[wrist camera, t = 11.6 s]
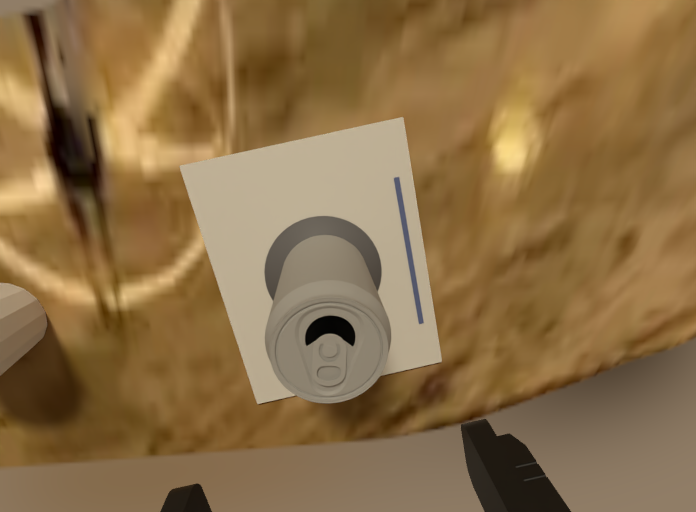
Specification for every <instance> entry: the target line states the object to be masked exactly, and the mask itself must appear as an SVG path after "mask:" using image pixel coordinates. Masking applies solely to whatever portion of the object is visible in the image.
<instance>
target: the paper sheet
mask: <svg viewBox="0 0 696 512" xmlns="http://www.w3.org/2000/svg"><path fill="white" fill-rule="evenodd" d="M179 167H180V170H181V173H182V176H183V179H184V182H185V185H186V188H187V191H188V194H189V197H190V200H191V203H192V206H193V209H194V212H195V216H196V219H197V222H198V225H199V228H200V231H201V234H202V237H203V240H204V243H205V246H206V249H207V252H208V255H209V258H210V261H211V264H212V267H213V270H214V273H215V276H216V279H217V283H218V286H219V289H220V292H221V295H222V298H223V301H224V304H225V307H226V310H227V313H228V316H229V319H230V322H231V325H232V328H233V331H234V334H235V337H236V340H237V343H238V346H239V349H240V353H241V356H242V359H243V362H244V365H245V368H246V371H247V374H248V377H249V380H250V383H251V386H252V389H253V392H254V395H255V398H256V401H257V404H261V403H265V402H269V401H274V400H278V399H282V398H287V397H291V396H295V394H293V393H292V392H290V391H289V390H288V389H286V388H285V387H284V386H283V385H282V383H281V382H280V381H279V380H278V378H277V377H276V375H275V373H274V371H273V368H272V365H271V362H270V360H269V358H268V355H267V351H266V347H265V330H266V325H267V322H268V318H269V315H270V311H271V308H272V304H273V300H274V297H275V293H276V290H277V286H278V283H279V279H280V275H281V272H282V268H283V265H284V262H285V260H286V258H287V256H288V254H289V253H290V251H291V250H292V249H293V248H294V247H295V246H296V245H297V244H299V243H300V242H302V241H303V240H305V239H308V238H310V237H313V236H318V235H332V236H337V237H340V238H342V239H344V240H346V241H348V242H349V243H351V244H352V245H354V246H355V247H356V248H357V249H358V250H359V252H360V253H361V255H362V256H363V258H364V261H365V263H366V265H367V268H368V270H369V273H370V275H371V277H372V280H373V282H374V285H375V287H376V290H377V292H378V294H379V297H380V299H381V302H382V304H383V306H384V309H385V311H386V314H387V316H388V319H389V322H390V326H391V345H390V349H389V352H388V358H387V362H386V365H385V368H384V370H383V372H382V374H381V375H380V376H382V375H387V374H391V373H395V372H400V371H404V370H408V369H413V368H417V367H421V366H426V365H430V364H434V363H439V362H442V358H441V352H440V346H439V339H438V333H437V327H436V320H435V314H434V308H433V302H432V295H431V289H430V283H429V276H428V270H427V264H426V257H425V251H424V245H423V239H422V232H421V226H420V220H419V213H418V207H417V201H416V194H415V188H414V182H413V176H412V169H411V163H410V157H409V150H408V144H407V138H406V131H405V125H404V119H403V117H401V118H396V119H392V120H387V121H382V122H378V123H373V124H369V125H364V126H360V127H355V128H350V129H346V130H341V131H337V132H332V133H328V134H323V135H318V136H314V137H309V138H305V139H300V140H296V141H291V142H286V143H282V144H277V145H273V146H268V147H264V148H259V149H254V150H250V151H245V152H241V153H236V154H232V155H227V156H222V157H218V158H213V159H209V160H204V161H200V162H195V163H191V164H186V165H181V166H179Z"/></svg>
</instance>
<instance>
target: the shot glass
mask: <svg viewBox="0 0 696 512" xmlns="http://www.w3.org/2000/svg"><path fill="white" fill-rule="evenodd" d="M46 328H47V318H46V312H45V310H44V309H43V307H42V306H41V304H40V302H39V301H38V299H37V298H35V297H34V296H33V295H32V294H30V293H29V292H28V291H26V290H25V289H23V288H20V287H18V286H15V285H12V284H9V283H0V376H1V375H2V374H3V373H4V372H5V371H6V370H8V369H9V368H10V367H11V366H12V365H13V364H14V363H15V362H17V361H18V360H19V359H20V358H21V357H22V356H23V355H25V354H26V353H27V352H28V351H29V350H30V349H31V348H32V347H34V346H35V345H36V344H37V343H38V342H39V341H40V340H41V339H42V338H43V337H44V334H45V331H46Z"/></svg>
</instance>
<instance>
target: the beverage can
mask: <svg viewBox="0 0 696 512" xmlns="http://www.w3.org/2000/svg"><path fill="white" fill-rule="evenodd" d="M390 345H391V326H390V322H389V319H388V316H387V314H386V311H385V309H384V306H383V304H382V302H381V299H380V297H379V294H378V292H377V290H376V287H375V285H374V282H373V280H372V277H371V275H370V273H369V270H368V268H367V265H366V263H365V261H364V258H363V256H362V255H361V253H360V252H359V250H358V249H357V248H356V247H355V246H354V245H352V244H351V243H349V242H348V241H346V240H344V239H342V238H340V237H337V236H332V235H318V236H313V237H310V238H308V239H305V240H303V241H302V242H300V243H299V244H297V245H296V246H295V247H294V248H293V249H292V250H291V251H290V253H289V254H288V256H287V258H286V260H285V262H284V265H283V268H282V272H281V275H280V279H279V283H278V286H277V290H276V293H275V297H274V300H273V304H272V308H271V311H270V315H269V318H268V322H267V325H266V330H265V347H266V351H267V355H268V358H269V360H270V362H271V365H272V368H273V371H274V373H275V375H276V377H277V378H278V380H279V381H280V382H281V383H282V385H283V386H284V387H285V388H286V389H288V390H289V391H290V392H292V393H293V394H295V395H296V396H298V397H300V398H303V399H305V400H308V401H312V402H316V403H338V402H343V401H346V400H349V399H352V398H354V397H356V396H358V395H360V394H362V393H363V392H365V391H366V390H368V389H369V388H370V387H371V386H372V385H373V384H374V383H375V382H376V381H377V379H378V378H379V377H380V375H381V374H382V372H383V370H384V368H385V365H386V362H387V358H388V352H389V349H390Z"/></svg>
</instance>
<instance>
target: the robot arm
mask: <svg viewBox="0 0 696 512" xmlns="http://www.w3.org/2000/svg"><path fill="white" fill-rule="evenodd" d="M461 431H462V438H463V444H464V451H465V457H466V463H467V468H468V472H469V476H470V478H471V481H472V484H473V487H474V489H475V491H476V494H477V496H478V498H479V500H480V502H481V505H482V507H483V509H484V511H485V512H571V511H570V509H569V508H568V507H567V505H566V504H565V502H564V501H563V499H562V498H561V496H560V495H559V494H558V492H557V490H556V489H555V488H554V486H553V485H552V483H551V482H550V480H549V479H548V477H546V475H545V473H544V472H543V470H542V469H541V467H540V466H539V464H537V462H536V460H535V459H534V457H533V456H532V454H531V453H530V451H529V450H528V448H527V447H526V446H525V445H524V444H523V443H522V442H520V441H519V440H518V439H516V438H515V437H513V436H512V435H511V434H505V435H501V436H496V434H495V432H494V431H493V429H492V427H491V426H490V424H489V423H488V421H487V420H486V419H483V420H478V421H474V422H469V423H465V424H461ZM161 512H212V511H211V509H210V506H209V504H208V502H207V499H206V496H205V494H204V492H203V489H202V487H201V485H199V484H193V485H189V486H184V487H180V488H175V489H172V490H171V491H170V492H169V494H168V496H167V498H166V500H165V503H164V505H163V507H162V509H161Z"/></svg>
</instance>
